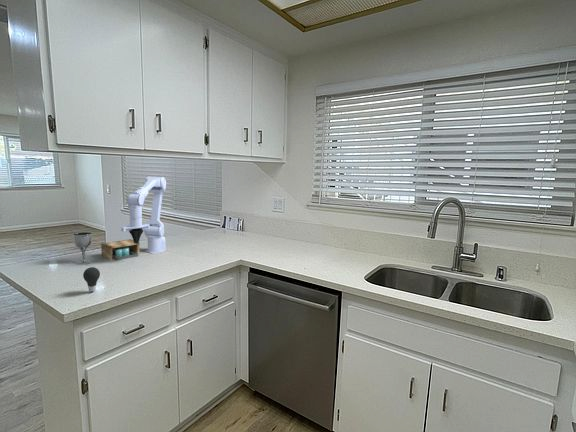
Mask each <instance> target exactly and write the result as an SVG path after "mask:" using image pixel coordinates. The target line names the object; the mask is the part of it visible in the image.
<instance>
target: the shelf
mask: <svg viewBox="0 0 576 432" xmlns="http://www.w3.org/2000/svg"><path fill="white" fill-rule="evenodd" d="M126 247H127V248H129V251H131V252H134V253H137V254H138V255H140V253H141V251H140V242H139V243H137V244H136V243H134V241H133V239H132V238H131V239H125V240H124V239H123V240H117V241H111V242H110V241H109V242H101V245H100V248H101V257H104V258H106V259H108V260H114V258H112V253H115V249H122V248H126Z"/></svg>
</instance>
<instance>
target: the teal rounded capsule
mask: <svg viewBox="0 0 576 432" xmlns="http://www.w3.org/2000/svg"><path fill="white" fill-rule="evenodd" d="M114 256H116V257H123V256H122V249H115V255H114Z"/></svg>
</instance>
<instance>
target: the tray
mask: <svg viewBox="0 0 576 432" xmlns="http://www.w3.org/2000/svg"><path fill="white" fill-rule="evenodd" d="M136 257H139V254H137V253H134V252H131V251H129V255H128V256H123V257H116V256H115V253H112V258H113V260H116V261H121V260H127V259H130V258H136Z"/></svg>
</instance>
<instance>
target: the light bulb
mask: <svg viewBox="0 0 576 432" xmlns="http://www.w3.org/2000/svg"><path fill="white" fill-rule="evenodd" d="M82 276H83V279H84V281H85V282H86V284H87V286H88V291H89V292H90V293H95V291H96V290H97V283H98V280H99V278H100V276H101V271H100V270H99V269H98V268H97V267H94V266H91V267H90V266H89V267H88V268H86V269H85V270H84V272H83V274H82Z"/></svg>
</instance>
